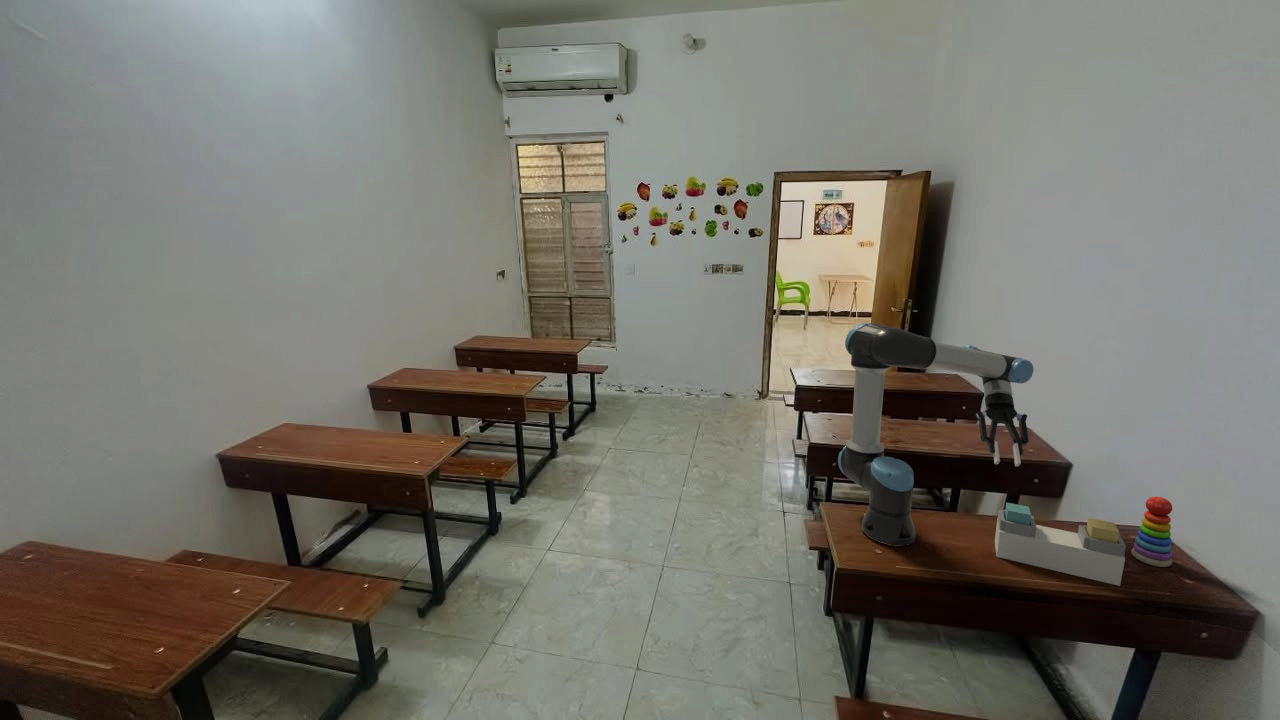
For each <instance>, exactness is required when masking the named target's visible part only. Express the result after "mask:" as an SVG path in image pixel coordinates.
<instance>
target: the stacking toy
mask: <svg viewBox="0 0 1280 720" xmlns="http://www.w3.org/2000/svg"><path fill="white" fill-rule="evenodd" d="M1145 508H1146V509H1147V510H1146V511H1145V512H1144V513H1143V516H1144V518H1143V519H1142V520H1141V523H1140V525H1139V530H1137V535H1136V537H1135V539H1134V540H1135V542H1134V543H1133V547H1132V549H1130V551H1131V555H1132V557H1134V558H1135V559H1137V560H1138V561H1140V562H1142V563H1144V564H1146V565H1150V566H1153V567H1159V568H1165V567H1166V568H1167V567H1170V566H1171V565H1173V560H1172V558H1173V552H1172V548H1173V546H1172V545H1171V544H1172V538H1171V535H1172V533H1171V529H1172V526H1171V524H1170V522H1171V517H1170V516H1169V515H1170V514H1171V513H1172V511H1173V504H1172V502H1171V501H1169V499H1166V498H1165V497H1161V496H1151V497H1149V498H1147V499H1146V502H1145Z"/></svg>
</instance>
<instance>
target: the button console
mask: <svg viewBox="0 0 1280 720" xmlns="http://www.w3.org/2000/svg"><path fill="white" fill-rule="evenodd" d="M1086 529H1087V525H1085V524H1083V525H1082V524H1081V525H1080V524H1079V525H1078V531H1077V532H1074V531H1069V530H1063V529H1059V528H1053V527H1049V526H1045V525H1038V524H1036V521H1035V517H1034V515H1031V519H1030V525H1025V524H1020V523H1015V522H1010V521H1006V517H1005V509H998V516H997V519H996V528H995V535H994V546H995V553H996V554H995V555H996V557H997V558H1000V559H1004V560H1008V561H1013V562H1017V563H1021V564H1026V565H1030V566H1034V567H1037V568H1043V569H1045V570H1051V571H1055V572H1060V573H1064V574H1068V575H1073V576H1076V577H1081V578H1084V579H1088V580H1093V581H1097V582H1101V583H1106V584H1110V585H1115V586H1119V587H1120V586H1121V583H1122V579H1123V578H1122V577H1123V572H1124V567H1125V560H1126V557H1125V553H1126V547H1127V545H1126V543H1125V541H1124V540H1123V538H1122V536H1121V535H1120V533H1119V538H1118V543H1114V542H1109V541H1104V540H1099V539H1094V538H1090V537H1089V534H1088V532H1087V530H1086Z"/></svg>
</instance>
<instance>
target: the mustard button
mask: <svg viewBox="0 0 1280 720" xmlns="http://www.w3.org/2000/svg"><path fill="white" fill-rule="evenodd" d="M1086 523H1087V525H1086V526H1087V529H1086V530H1087V532H1088V534H1089V537H1090V538H1094V539H1099V540H1104V541H1109V542H1114V543H1118V538H1119V534H1120V530H1119V528H1118V527H1117V525H1116V523H1115V522H1112V521H1106V520H1102V519H1096V518H1090V517H1088V518H1087V522H1086Z"/></svg>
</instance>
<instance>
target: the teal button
mask: <svg viewBox="0 0 1280 720" xmlns="http://www.w3.org/2000/svg"><path fill="white" fill-rule="evenodd" d="M1004 510H1005V517H1006V521H1010V522H1015V523H1020V524H1025V525H1030V519H1031V516H1032V513H1031V510H1030V507H1029V506H1026V505H1021V504H1016V503H1010V502H1005V509H1004Z"/></svg>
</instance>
